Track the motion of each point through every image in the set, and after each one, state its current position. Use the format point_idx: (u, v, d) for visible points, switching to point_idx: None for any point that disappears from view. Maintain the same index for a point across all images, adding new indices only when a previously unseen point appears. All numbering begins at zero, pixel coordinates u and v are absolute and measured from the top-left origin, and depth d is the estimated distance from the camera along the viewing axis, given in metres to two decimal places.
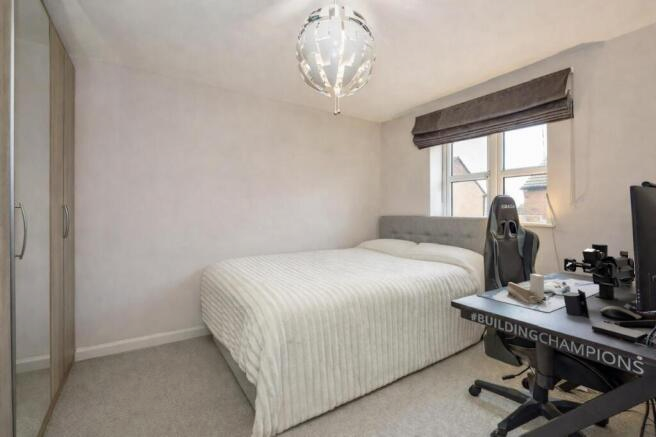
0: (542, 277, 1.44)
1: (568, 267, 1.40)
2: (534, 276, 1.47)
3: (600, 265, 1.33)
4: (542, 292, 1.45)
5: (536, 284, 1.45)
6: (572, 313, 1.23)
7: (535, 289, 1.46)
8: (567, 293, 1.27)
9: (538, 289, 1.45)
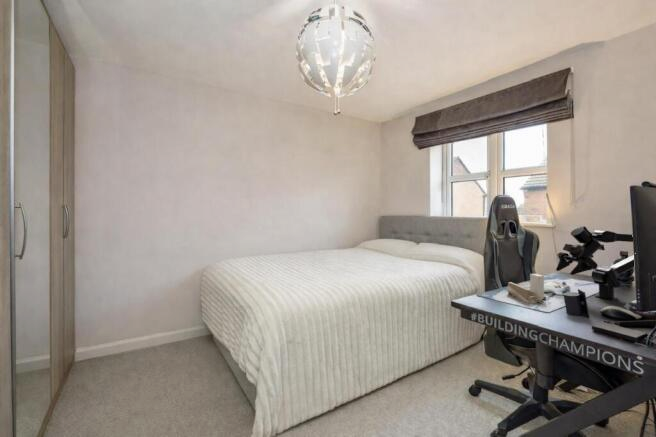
0: (542, 277, 1.44)
1: (559, 268, 1.51)
2: (534, 276, 1.47)
3: (578, 262, 1.41)
4: (542, 292, 1.45)
5: (536, 284, 1.45)
6: (572, 313, 1.23)
7: (535, 289, 1.46)
8: (567, 293, 1.27)
9: (538, 289, 1.45)
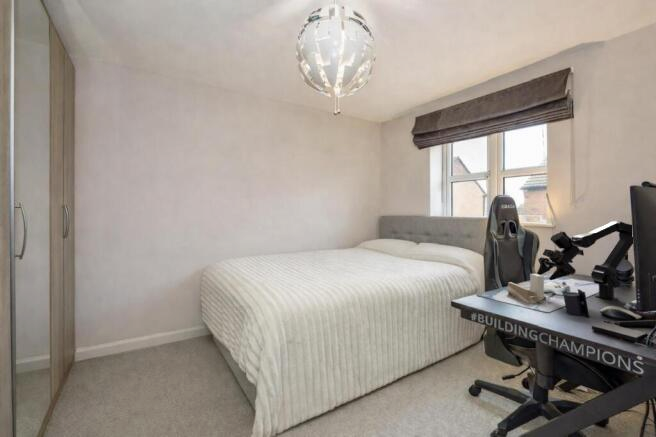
0: (542, 277, 1.44)
1: (539, 273, 1.51)
2: (534, 276, 1.47)
3: (557, 268, 1.41)
4: (542, 292, 1.45)
5: (536, 284, 1.45)
6: (572, 313, 1.23)
7: (535, 289, 1.46)
8: (567, 293, 1.27)
9: (538, 289, 1.45)
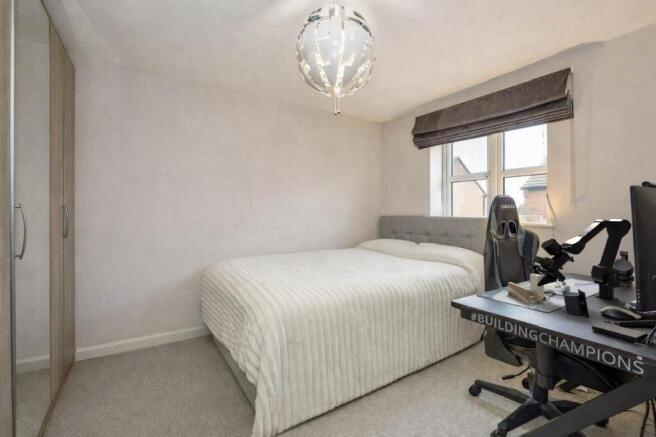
0: (542, 277, 1.44)
1: None
2: (534, 276, 1.47)
3: (545, 274, 1.43)
4: (542, 292, 1.45)
5: (536, 284, 1.45)
6: (572, 313, 1.23)
7: (535, 289, 1.46)
8: (567, 293, 1.27)
9: (538, 289, 1.45)
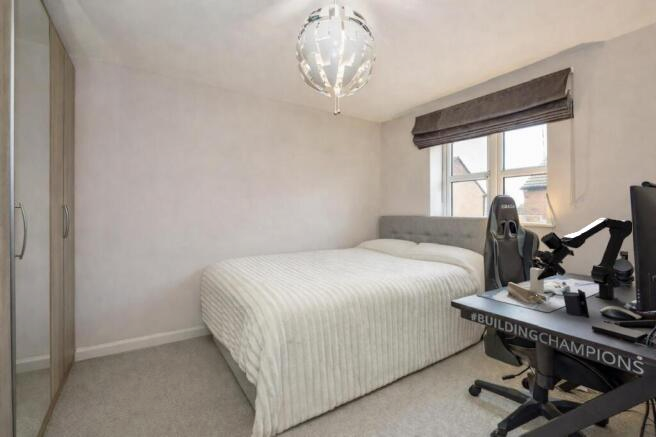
0: (542, 271, 1.44)
1: None
2: (534, 270, 1.47)
3: (545, 268, 1.43)
4: (542, 286, 1.44)
5: (536, 278, 1.45)
6: (572, 313, 1.23)
7: (535, 283, 1.46)
8: (567, 293, 1.27)
9: (538, 283, 1.45)
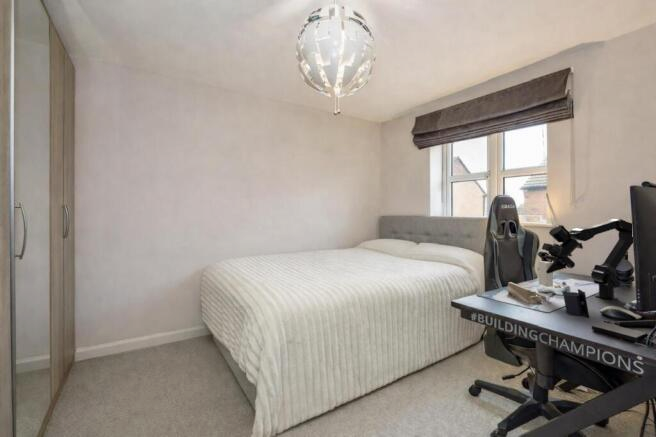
0: (551, 264, 1.44)
1: None
2: (543, 263, 1.46)
3: (554, 261, 1.43)
4: (551, 279, 1.44)
5: (545, 271, 1.45)
6: (572, 313, 1.23)
7: (544, 276, 1.46)
8: (567, 293, 1.27)
9: (547, 276, 1.44)
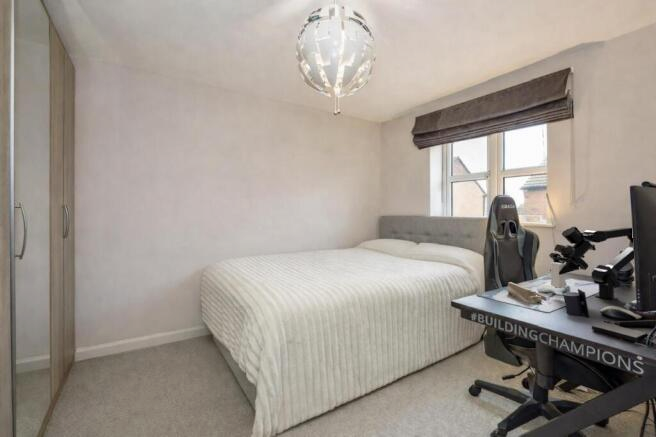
0: (564, 265, 1.44)
1: None
2: (555, 264, 1.46)
3: (566, 262, 1.42)
4: (564, 280, 1.44)
5: (558, 272, 1.45)
6: (572, 313, 1.23)
7: (556, 277, 1.46)
8: (567, 293, 1.27)
9: (559, 277, 1.44)
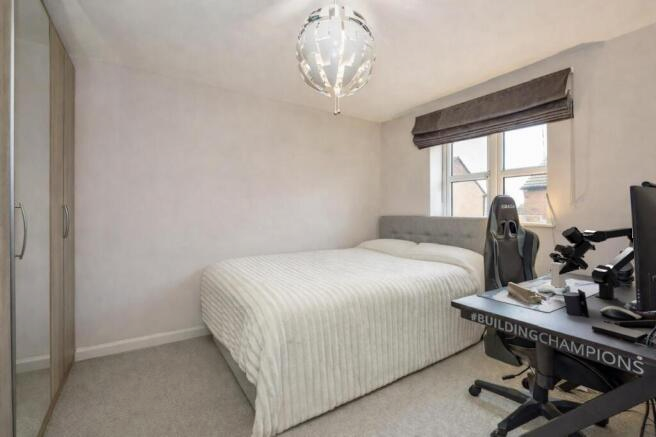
0: (564, 265, 1.44)
1: None
2: (555, 264, 1.46)
3: (566, 262, 1.42)
4: (564, 280, 1.44)
5: (558, 272, 1.45)
6: (572, 313, 1.23)
7: (556, 277, 1.46)
8: (567, 293, 1.27)
9: (559, 277, 1.44)
